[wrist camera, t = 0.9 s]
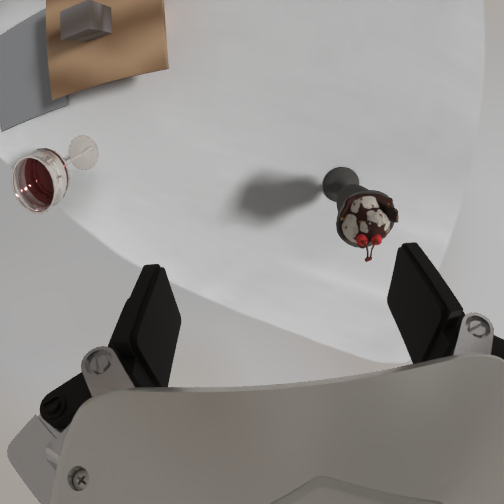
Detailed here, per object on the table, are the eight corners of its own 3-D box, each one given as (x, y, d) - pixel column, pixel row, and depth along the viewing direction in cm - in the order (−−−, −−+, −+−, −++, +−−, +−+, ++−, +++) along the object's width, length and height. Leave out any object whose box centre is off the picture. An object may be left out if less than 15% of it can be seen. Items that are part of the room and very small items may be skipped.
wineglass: (58, 163, 35) (7, 198, 25) (72, 121, 32) (17, 145, 22) (94, 183, 37) (49, 224, 27) (111, 141, 34) (62, 171, 24)
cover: (50, -3, 18) (20, -9, 13) (162, -44, 17) (145, -63, 12) (57, 98, 25) (26, 107, 20) (168, 68, 25) (150, 68, 20)
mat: (-6, 40, 22) (-8, 41, 22) (60, 2, 22) (58, 1, 21) (4, 130, 31) (1, 131, 30) (68, 104, 31) (66, 105, 30)
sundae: (314, 206, 39) (342, 275, 27) (320, 158, 36) (358, 209, 23) (359, 209, 40) (403, 276, 27) (368, 163, 36) (423, 215, 23)
